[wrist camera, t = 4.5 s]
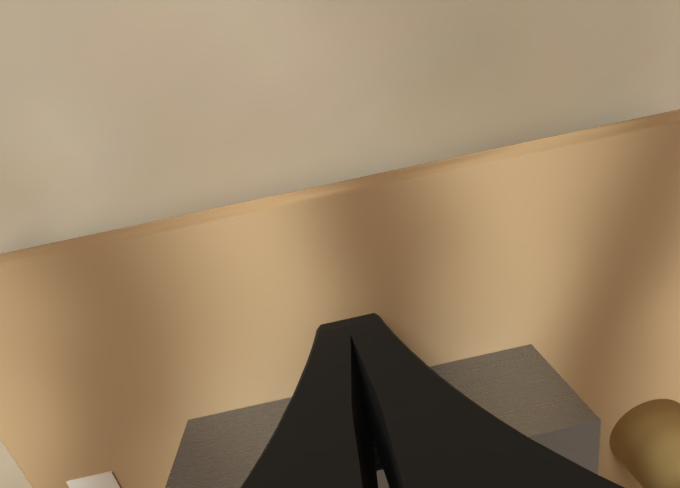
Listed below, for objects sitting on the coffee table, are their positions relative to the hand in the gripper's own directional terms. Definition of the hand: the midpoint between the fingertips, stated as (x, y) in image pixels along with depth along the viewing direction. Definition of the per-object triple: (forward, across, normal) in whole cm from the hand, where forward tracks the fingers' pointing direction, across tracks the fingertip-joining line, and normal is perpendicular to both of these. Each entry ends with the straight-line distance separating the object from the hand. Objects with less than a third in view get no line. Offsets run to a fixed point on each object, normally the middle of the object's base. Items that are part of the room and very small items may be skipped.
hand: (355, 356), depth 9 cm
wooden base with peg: (+3, 0, +6) cm, 6 cm away
